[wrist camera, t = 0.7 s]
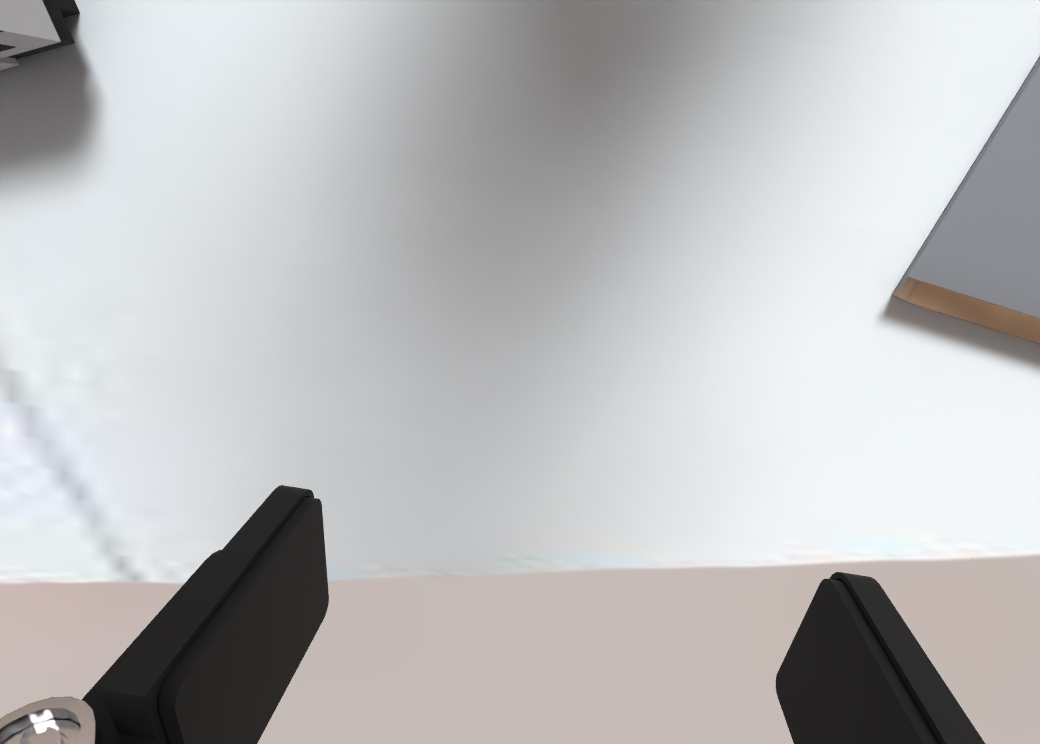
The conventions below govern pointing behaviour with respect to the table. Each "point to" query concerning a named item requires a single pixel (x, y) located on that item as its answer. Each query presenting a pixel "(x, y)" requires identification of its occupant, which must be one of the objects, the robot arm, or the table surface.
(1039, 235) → the slate mat
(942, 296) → the walnut stop strip
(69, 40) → the game console
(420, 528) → the table surface
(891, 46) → the table surface
